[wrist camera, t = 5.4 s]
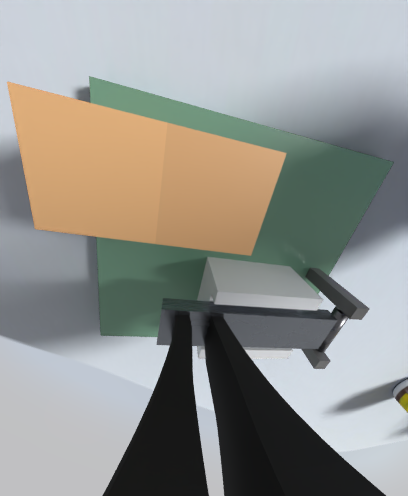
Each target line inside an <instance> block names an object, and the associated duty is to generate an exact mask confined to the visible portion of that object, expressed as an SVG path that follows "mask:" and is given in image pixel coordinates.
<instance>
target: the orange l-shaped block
mask: <svg viewBox="0 0 408 496" xmlns="http://www.w3.org/2000/svg"><path fill="white" fill-rule="evenodd" d="M7 84H8V90H9V95H10V100H11V105H12V111H13V116H14V121H15V127H16V132H17V137H18V142H19V148H20V153H21V158H22V164H23V169H24V174H25V179H26V185H27V190H28V195H29V200H30V206H31V211H32V216H33V222H34V227H35V229H38V230H46V231H54V232H62V233H70V234H78V235H86V236H95V237H103V238H111V239H119V240H127V241H135V242H143V243H151V244H159V245H167V246H176V247H184V248H192V249H200V250H208V251H216V252H224V253H232V254H240V255H248V256H251V254H252V252H253V249H254V246H255V243H256V240H257V237H258V234H259V231H260V229H261V226H262V223H263V220H264V217H265V214H266V211H267V208H268V206H269V203H270V200H271V197H272V194H273V191H274V188H275V185H276V183H277V180H278V177H279V174H280V171H281V168H282V165H283V163H284V160H285V157H286V154H287V153H284V152H280V151H276V150H272V149H269V148H265V147H261V146H257V145H253V144H249V143H245V142H241V141H237V140H233V139H229V138H226V137H222V136H218V135H214V134H210V133H206V132H202V131H198V130H194V129H190V128H186V127H183V126H179V125H175V124H171V123H167V122H163V121H159V120H155V119H151V118H147V117H144V116H140V115H136V114H132V113H128V112H124V111H120V110H116V109H112V108H108V107H104V106H101V105H97V104H93V103H89V102H85V101H81V100H77V99H73V98H69V97H65V96H61V95H58V94H54V93H50V92H46V91H42V90H38V89H34V88H30V87H26V86H22V85H19V84H15V83H11V82H7Z"/></svg>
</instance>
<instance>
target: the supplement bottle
mask: <svg viewBox="0 0 408 496" xmlns="http://www.w3.org/2000/svg"><path fill="white" fill-rule="evenodd" d="M393 395H394V397H395V399H396V400H397V401H398V402H399V404H400V405H401V406H402V407H403V408H404V409H405V410H406V411H407V413H408V379H406V380H405V381H403V382H401V383H400V384H398V385H397V386H396V387H395V389H394V391H393Z"/></svg>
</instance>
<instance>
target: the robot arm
mask: <svg viewBox="0 0 408 496" xmlns="http://www.w3.org/2000/svg"><path fill="white" fill-rule="evenodd" d="M204 345H205V358H206V366H207V372H208V377H209V383H210V388H211V394H212V399H213V404H214V410H215V414H216V421H217V427H218V437H219V445H220V455H221V464H222V475H223V485H224V496H386V495H385V494H383V493H382V492H381V491H380V490H379V489H378V488H377V487H375V486H374V485H373V484H372V483H371V482H370V481H368V480H367V479H366V478H365V477H364V476H363V475H362V474H360V473H359V472H358V471H357V470H356V469H354V468H353V467H352V466H351V465H350V464H349V463H348V462H346V461H345V460H344V459H343V458H342V457H341V456H340V455H339V454H338V453H337V452H336V451H335V450H334V449H332V448H331V447H330V446H329V445H328V444H327V443H326V442H325V441H324V440H323V439H322V438H321V437H320V436H319V435H318V434H317V433H316V432H315V431H314V430H313V429H312V428H311V427H310V426H309V425H308V424H307V423H306V422H305V421H304V420H303V419H302V418H301V417H300V416H299V415H298V414H297V413H296V412H295V411H294V410H293V409H292V408H291V407H290V405H289V404H288V403H287V402H286V401H285V400H284V399H283V398H282V397H281V396H280V394H279V393H278V392H277V391H276V390H275V389H274V387H273V386H272V385H271V384H270V383H269V381H268V380H267V379H266V378H265V377H264V375H263V374H262V373H261V371H260V370H259V369H258V368H257V366H256V365H255V364H254V362H253V361H252V360H251V358H250V357H249V355H248V354H247V353H246V351H245V350H244V348H243V347H242V345H241V344H240V342H239V341H238V339H237V338H236V336H235V335H234V333H233V332H232V330H231V329H230V327H229V325H228V324H227V322H226V321H225V319H224V318H223V317H220V316H211V319H210V323H209V327H208V331H207V335H206V339H205V343H204ZM103 496H209V494H208V488H207V481H206V475H205V468H204V462H203V455H202V448H201V441H200V433H199V426H198V418H197V411H196V402H195V394H194V385H193V371H192V325H191V320H190V316H189V315H177V316H176V317H175V322H174V328H173V335H172V341H171V344H170V347H169V351H168V354H167V357H166V360H165V363H164V366H163V368H162V371H161V374H160V377H159V379H158V382H157V384H156V387H155V389H154V391H153V394H152V396H151V399H150V401H149V403H148V405H147V408H146V410H145V412H144V414H143V416H142V419H141V421H140V423H139V425H138V427H137V429H136V432H135V434H134V435H133V438H132V440H131V442H130V444H129V446H128V448H127V450H126V452H125V454H124V455H123V458H122V460H121V461H120V463H119V465H118V467H117V470H116V471H115V473H114V475H113V477H112V479H111V481H110V483H109V485H108V487H107V488H106V490H105V492H104V494H103Z"/></svg>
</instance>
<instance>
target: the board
mask: <svg viewBox="0 0 408 496" xmlns="http://www.w3.org/2000/svg"><path fill="white" fill-rule="evenodd" d="M89 81H90V103H93V104H97V105H101V106H104V107H108V108H112V109H116V110H120V111H124V112H128V113H132V114H136V115H140V116H144V117H147V118H151V119H155V120H159V121H163V122H167V123H171V124H175V125H179V126H183V127H186V128H190V129H194V130H198V131H202V132H206V133H210V134H214V135H218V136H222V137H226V138H229V139H233V140H237V141H241V142H245V143H249V144H253V145H257V146H261V147H265V148H269V149H272V150H276V151H280V152H284V153H287V154H286V157H285V160H284V163H283V165H282V168H281V171H280V174H279V177H278V180H277V183H276V185H275V188H274V191H273V194H272V197H271V200H270V203H269V206H268V208H267V211H266V214H265V217H264V220H263V223H262V226H261V229H260V231H259V234H258V237H257V240H256V243H255V246H254V249H253V252H252V254H251V256H248V255H240V254H232V253H224V252H216V251H208V250H200V249H192V248H184V247H176V246H167V245H159V244H151V243H143V242H135V241H127V240H119V239H111V238H103V237H96V241H97V264H98V287H99V310H100V332H101V336H140V337H158V330H159V323H160V316H161V308H162V301H163V298H171V299H184V300H198V301H211V302H214V304H220V305H236V306H251V307H267V308H283V309H299V310H314V311H317V310H318V308H319V306H320V305H321V303H322V301H323V299H322V298H321V297H320V296H319V295H318V293H319V292H320V291H321V292H322V293H323V294H324V295H325V296H326V297H327V298H328V299H329V300H330V301H331V302H332V303H334V304H335V305H336V306H337V307H338V308H339V309H340V310H341V311H342V312H343V313H344V314H345V315H346V316H347V317H348V318H349V319H359V320H362V318H363V317H364V316H365V314H366V313H367V312H368V310H369V308H368V307H367V306H366V305H364V304H363V303H362V302H361V301H359V300H358V299H357V298H356V297H354V296H353V295H352V294H351V293H349V292H348V291H347V290H346V289H344V288H343V287H342V286H341V285H339V284H338V283H337V282H336V281H334V280H333V279H332V278H331V277H329V274H330V273H331V271H332V269H333V267H334V266H335V264H336V262H337V260H338V259H339V257H340V255H341V253H342V252H343V250H344V248H345V247H346V245H347V243H348V241H349V240H350V238H351V236H352V234H353V233H354V231H355V229H356V227H357V226H358V224H359V222H360V220H361V219H362V217H363V215H364V214H365V212H366V210H367V208H368V207H369V205H370V203H371V201H372V200H373V198H374V196H375V194H376V193H377V191H378V189H379V187H380V186H381V184H382V182H383V181H384V179H385V177H386V175H387V174H388V172H389V170H390V168H391V167H392V165H393V163H394V162H391V161H388V160H384V159H381V158H377V157H374V156H370V155H367V154H363V153H360V152H356V151H352V150H349V149H345V148H342V147H338V146H335V145H331V144H328V143H324V142H321V141H317V140H313V139H310V138H306V137H303V136H299V135H296V134H292V133H289V132H285V131H282V130H278V129H275V128H271V127H267V126H264V125H260V124H257V123H253V122H250V121H246V120H243V119H239V118H236V117H232V116H228V115H225V114H221V113H218V112H214V111H211V110H207V109H204V108H200V107H197V106H193V105H189V104H186V103H182V102H179V101H175V100H172V99H168V98H165V97H161V96H158V95H154V94H151V93H147V92H143V91H140V90H136V89H133V88H129V87H126V86H122V85H119V84H115V83H112V82H108V81H104V80H101V79H97V78H94V77H90V76H89ZM243 348H244V350H245V351H246V353H247V354H248V355H249V357H250V358H251V359H288V358H289V356H290V355H291V353H292V351H293V350H292V348H258V347H243ZM197 350H198V359H206V358H205V346H197ZM302 351H303V352H304V354H305V355H306V357H307V358H308V360H309V361H310V363H311V365H312V366H313V368H314V369H325V368H326V366H327V365H328V364H329V362H330V360H329V358H328V357H327V356H326V354H325V353H320V352H318V351H316V350H315V349H302Z"/></svg>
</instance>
